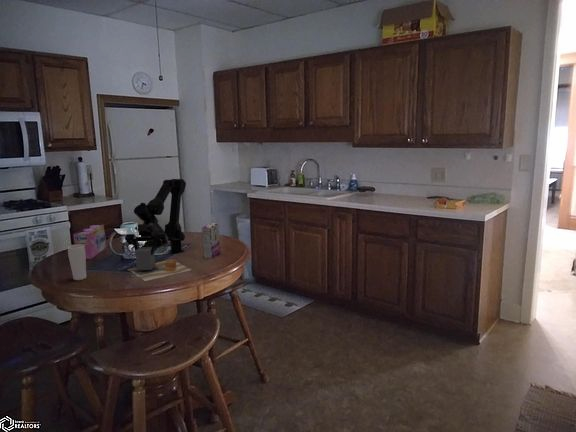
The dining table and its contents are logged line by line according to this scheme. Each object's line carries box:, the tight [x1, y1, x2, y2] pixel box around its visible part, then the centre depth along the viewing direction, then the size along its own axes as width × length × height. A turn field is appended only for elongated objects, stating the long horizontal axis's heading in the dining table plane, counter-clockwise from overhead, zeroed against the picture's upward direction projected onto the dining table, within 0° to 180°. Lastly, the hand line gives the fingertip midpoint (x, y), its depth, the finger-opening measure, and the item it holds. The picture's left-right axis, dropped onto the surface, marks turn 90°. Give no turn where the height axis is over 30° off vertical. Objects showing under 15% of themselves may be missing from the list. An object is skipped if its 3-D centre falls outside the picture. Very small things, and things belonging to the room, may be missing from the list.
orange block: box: [165, 259, 177, 271], centre depth 196 cm, size 4×4×4 cm
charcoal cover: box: [134, 246, 156, 270], centre depth 195 cm, size 7×7×9 cm
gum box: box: [72, 223, 108, 260], centre depth 228 cm, size 24×8×14 cm, turn 4°
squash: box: [144, 222, 165, 247], centre depth 240 cm, size 14×15×15 cm
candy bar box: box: [201, 222, 221, 259], centre depth 217 cm, size 11×5×16 cm, turn 168°
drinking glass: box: [67, 244, 87, 281], centre depth 187 cm, size 7×7×15 cm
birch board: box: [127, 260, 192, 282], centre depth 197 cm, size 22×22×1 cm
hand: (144, 254), depth 193 cm, fingers closed on charcoal cover, 7 cm apart
